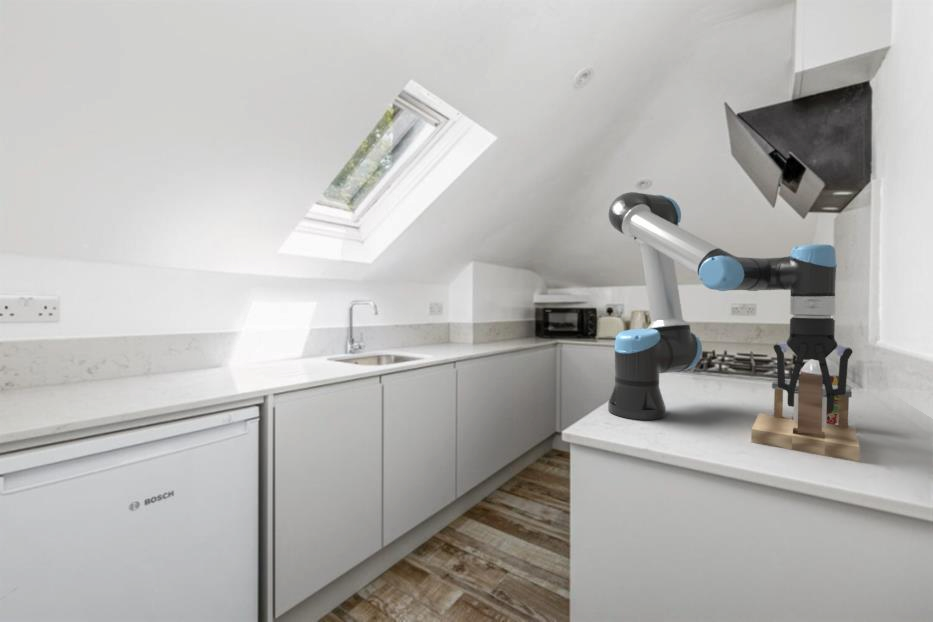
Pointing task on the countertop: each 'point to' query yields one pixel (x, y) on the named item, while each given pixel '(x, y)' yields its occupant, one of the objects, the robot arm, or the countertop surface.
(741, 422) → the countertop surface
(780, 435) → the socket board
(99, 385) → the countertop surface
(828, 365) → the smoothie
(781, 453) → the countertop surface
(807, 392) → the peg
